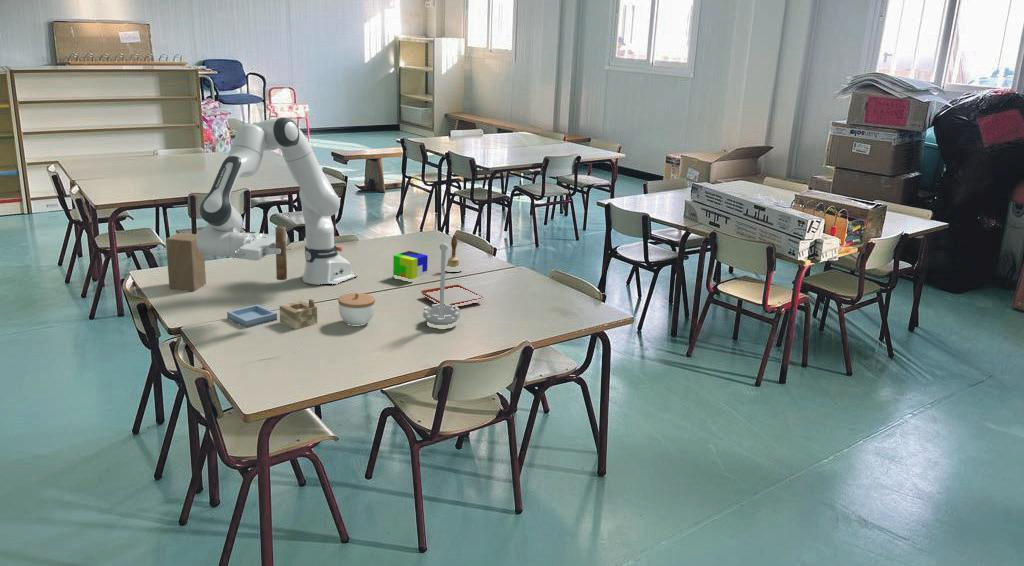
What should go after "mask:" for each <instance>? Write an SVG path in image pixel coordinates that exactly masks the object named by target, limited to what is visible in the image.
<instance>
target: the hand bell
mask: <svg viewBox="0 0 1024 566" xmlns="http://www.w3.org/2000/svg"><path fill="white" fill-rule="evenodd" d="M450 243H451V244H450V245H451V256H450V257H449V258H448V259H447V263H446V266H450V267H456V266H460V263H459V261H460V260H459V258H458V257H456V256H457V255H456V249H457V247H458V237H457V234H453V235H452V238H451V242H450Z"/></svg>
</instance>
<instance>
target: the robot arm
mask: <svg viewBox="0 0 1024 566" xmlns="http://www.w3.org/2000/svg"><path fill="white" fill-rule="evenodd" d="M275 150H280V151H281V154H282V156H283V159H284V161H285V163H286V164H287V167H288V169H289V171H290V174H291V175H292V178H293V179H294V181H295V182H296V184H297V185H298V187H299V195H298V196H299V200H300V203H301V204H300V205H301V211H302V215H303V220H304V227H305V246H304V257H305V264H304V266H305V267H304V272H303V275H302V281H303V282H304V283H306V284H310V285H320V284H321V285H322V284H332V285H331V286H334V285H333V284H336V285H339V284H341V283H340V282H342V281H345V280H347V279H349V278H351V277H354V276H355V275H354V274H352V273H354V271H353V270H352V264H351V263H350V262H349V260H347V259H346V258H344V257H343V256H341V255H340V254H339V252H340V253H341V252H343V247H342V246H339V245H335V227H334V224H333V221H332V217H333V216H334V215H335V214H337V213H338V212H339V209H340V208H341V207H340V206H341V200H340V198H339V196H338V195H337V193H336V191H335V190H334V188H333V186H332V184H331V183H330V180H329V179H328V178H327V176H326V174H325V173H324V171H323V169H322V167H321V165H320V164H319V160H318V159H317V156H316V155H315V153H314V152H315V151H314V150H313V148H312V145H311V144H310V143H309V140H308V139H307V138H306V135H305V134H304V133H303V131H302V130H301V129H300V128H299V127H298V125H297V123H296V121H294V120H293V119H291V118H289V117H279V118H268V119H264V120H261V121H259V122H252V123H245V124H243V125H241V126H240V127H239V129H238V130H237V132H236V134H235V136H234V138H233V141H232V143H231V146H230V149H229V152H228V155H227V157H226V158H225V159H224V160H223V161H222V163H221V166H220V168H219V170H218V173H217V174H216V177H215V179H214V181H213V183H212V186H211V189H210V190H209V192H208V194H207V195H206V196H205V197H204V198H203V200H202V201H201V203H200V206H199V215H200V216H201V218H202V219H203V220H204V221H205V222H206V223H207V225H205V226H204V227H203V228H202V229H200V230H199V231H197V233H196V239H195V241H196V246H197V248H198V250H199V251H200V252H201V253H203V254H204V255H205V256H211V257H219V258H224V257H229V258H232V259H238V260H239V259H241V260H248V261H261V260H262V259H263V258H264V257H266V256H268V255H276V254H280V253H281V252H282V249H281V248H276V234H269V233H258V231H248V232H241V231H242V229H243V226H244V225H243V224H244V220H243V217H242V215H241V214H240V212H238V210H237V209H236V208H235V207H234V206H233V205H232V201H231V194H232V193H233V190H234V186H235V184H236V182H237V179H238V178H250V177H252V176H254V175H255V174H256V173H257V172H258V170H259V169H260V166H261V163H262V161H263V157H264V151H275ZM287 246H288V245H287V244H286V250H287V249H288V247H287ZM345 282H346V281H345ZM338 283H339V284H338ZM342 283H343V282H342ZM321 285H320V286H321Z"/></svg>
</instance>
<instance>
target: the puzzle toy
mask: <svg viewBox="0 0 1024 566" xmlns="http://www.w3.org/2000/svg"><path fill="white" fill-rule="evenodd" d="M428 261H429V258H428V255H427V254H423V253H419V252H415V251H411V250H408V251H404V252H400V253H397V254H394V255H393V266H392V267H393V269H392V270H393V271H392V272H393V273H392V274H393V275H397V276H401V277H405V278H408V279H414V278H416V277H419V276H422V275H424V274H427V275H428ZM393 275H392V276H393Z"/></svg>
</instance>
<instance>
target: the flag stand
mask: <svg viewBox="0 0 1024 566" xmlns="http://www.w3.org/2000/svg"><path fill="white" fill-rule="evenodd" d="M439 249H440V251H441V258H440V285H439V286H440V306H439V304H435V303H432V304H431V307H430V306H428V305H427V306H425V307H423V312H422V317H423V318H424V319H425V322H426V321H427V322H429V323H431V324H434V325H448V324H452V323H454V322H456V321H457V322H458V320H459V319H460V317H461V313H460V312H461V311H460V307H455V308H452V305H448V304H445V307H444V290H445V285H446V272H445V267H446V264H447V263H446V258H447V250H448V249H449V245H448V243H446V242H441V243H440V244H439ZM444 315H445V318H444Z"/></svg>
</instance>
